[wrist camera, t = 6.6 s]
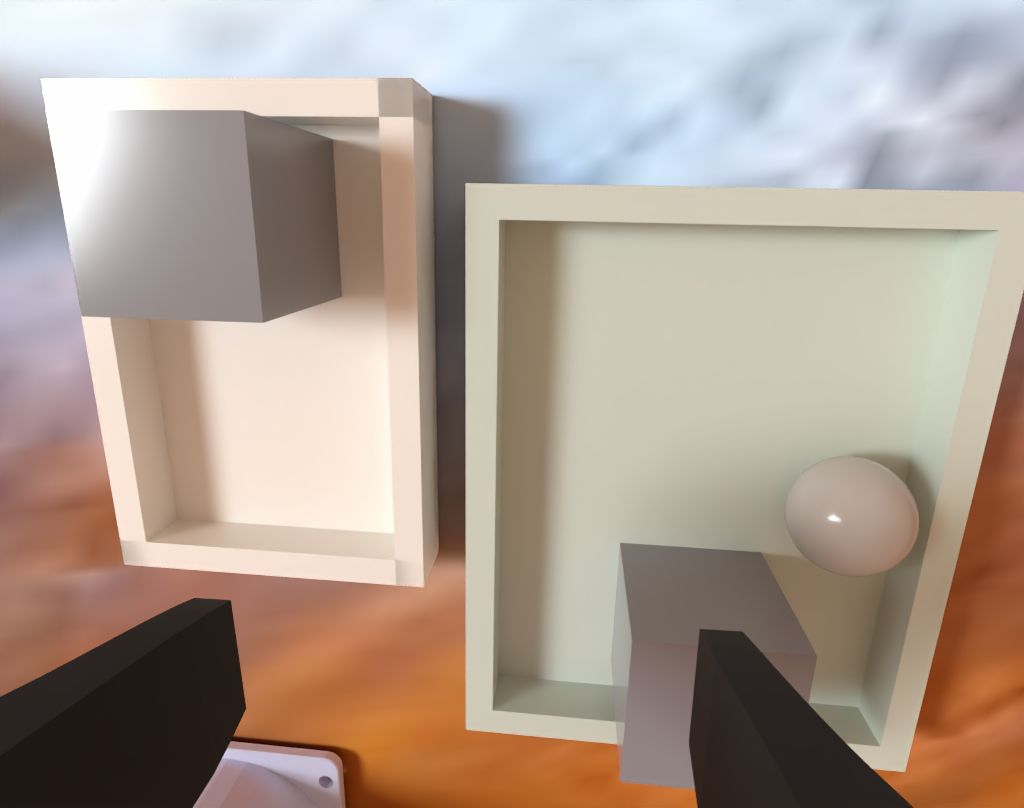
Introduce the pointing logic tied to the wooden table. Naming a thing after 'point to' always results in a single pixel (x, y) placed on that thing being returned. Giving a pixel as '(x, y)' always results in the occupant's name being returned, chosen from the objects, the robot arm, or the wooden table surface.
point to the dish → (288, 365)
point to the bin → (719, 420)
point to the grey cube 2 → (688, 645)
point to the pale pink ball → (851, 516)
